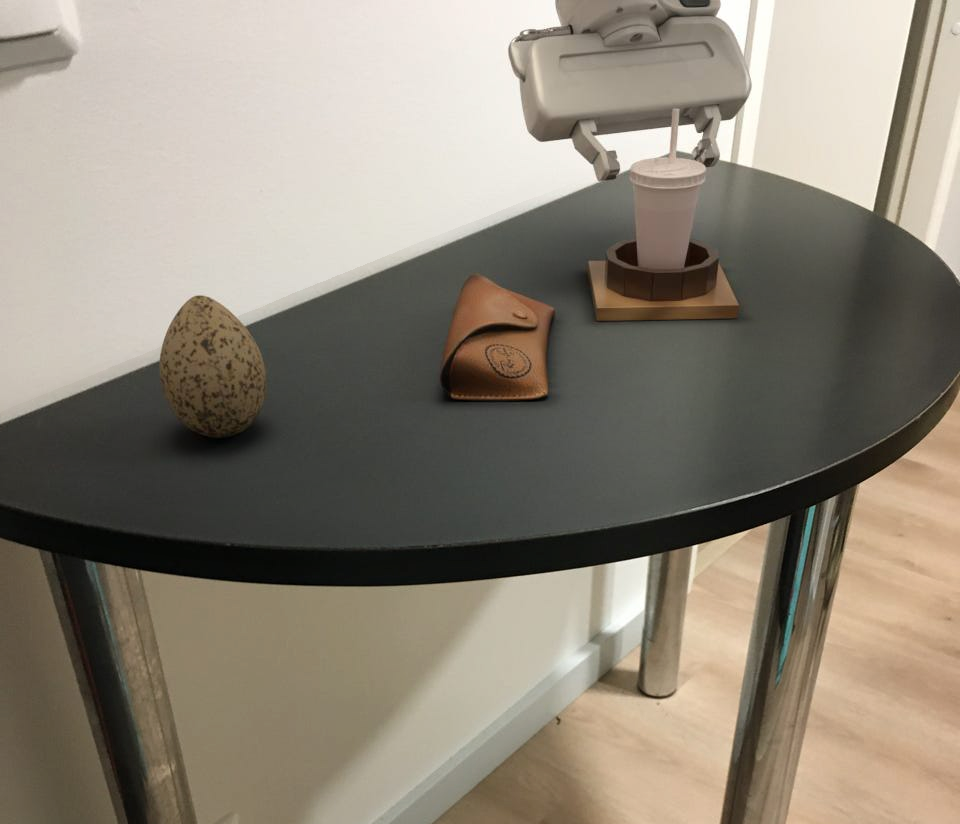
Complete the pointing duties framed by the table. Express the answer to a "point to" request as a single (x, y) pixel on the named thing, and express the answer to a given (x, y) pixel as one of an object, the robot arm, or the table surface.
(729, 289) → the dock pad
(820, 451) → the table surface
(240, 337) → the decorative egg
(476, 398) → the sunglasses case
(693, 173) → the smoothie
